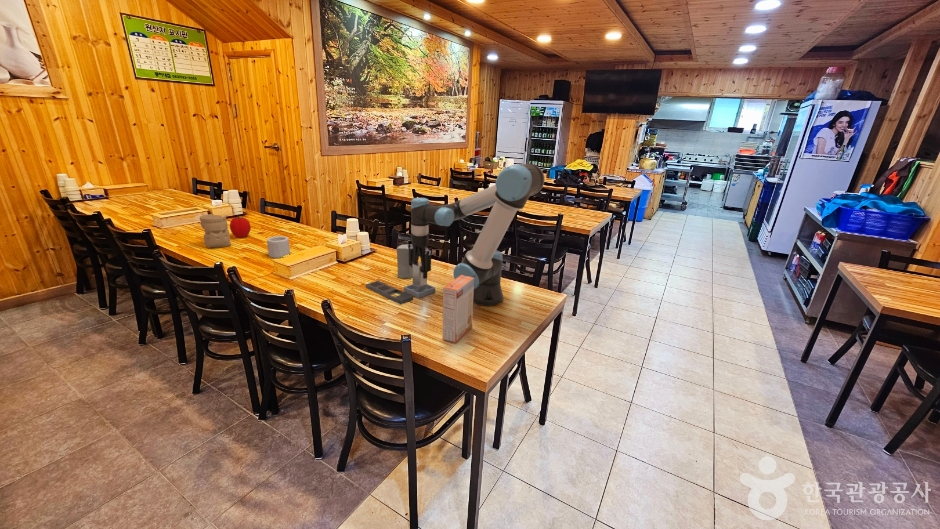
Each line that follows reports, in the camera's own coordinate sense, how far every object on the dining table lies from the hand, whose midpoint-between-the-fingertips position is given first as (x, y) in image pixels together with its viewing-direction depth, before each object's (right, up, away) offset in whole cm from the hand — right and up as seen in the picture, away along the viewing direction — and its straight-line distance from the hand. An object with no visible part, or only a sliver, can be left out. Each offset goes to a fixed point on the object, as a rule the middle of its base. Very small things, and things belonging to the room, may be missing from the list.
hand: (419, 282), depth 170 cm
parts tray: (0, -4, +2) cm, 5 cm away
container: (-125, +19, +48) cm, 135 cm away
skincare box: (-10, +3, +20) cm, 22 cm away
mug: (-85, +14, +39) cm, 95 cm away
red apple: (-123, +26, +68) cm, 143 cm away
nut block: (0, -3, +1) cm, 3 cm away
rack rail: (-14, -5, -1) cm, 15 cm away
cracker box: (+18, -18, -31) cm, 40 cm away
